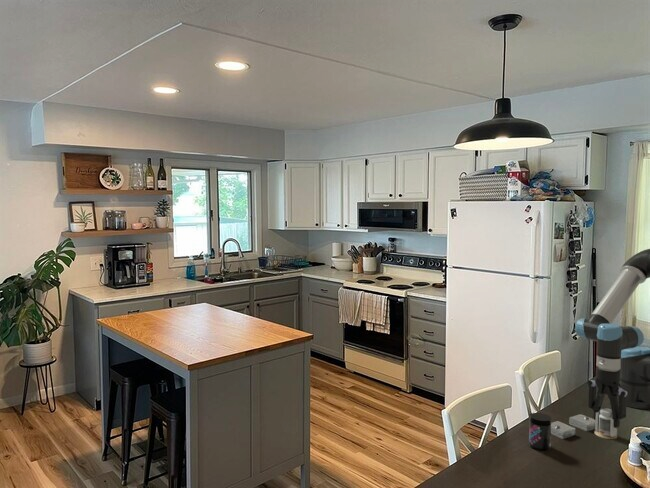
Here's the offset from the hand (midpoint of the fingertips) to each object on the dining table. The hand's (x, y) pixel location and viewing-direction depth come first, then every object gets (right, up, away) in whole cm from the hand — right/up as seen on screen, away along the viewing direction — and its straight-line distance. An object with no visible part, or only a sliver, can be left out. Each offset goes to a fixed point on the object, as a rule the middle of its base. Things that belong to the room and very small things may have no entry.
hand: (605, 432), depth 175 cm
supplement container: (-27, -2, -9) cm, 29 cm away
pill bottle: (0, -1, 0) cm, 1 cm away
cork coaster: (0, -1, 0) cm, 1 cm away
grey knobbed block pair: (-10, -1, +4) cm, 11 cm away
